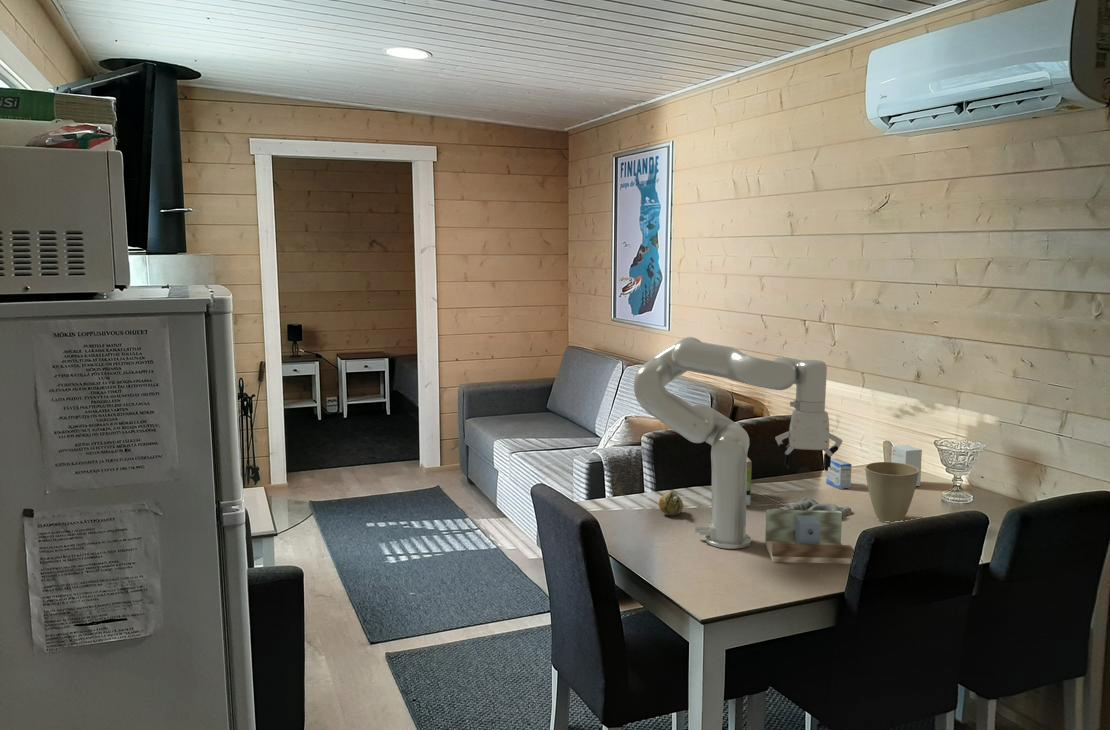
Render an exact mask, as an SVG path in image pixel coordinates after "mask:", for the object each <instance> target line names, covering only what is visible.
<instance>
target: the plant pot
mask: <svg viewBox="0 0 1110 730" xmlns="http://www.w3.org/2000/svg"><path fill="white" fill-rule="evenodd" d="M864 470H865V479H866V484H867V489H868V494H869V499H870V502H871V505H872V508H873V511H874V514H875V516H876V517H875V518H876V519H877V518H878V519H879V521H880V520H882V521H890V522H895V521H901V520H903V521H904V520H905V518H906V516H907V514H908V512H909V509H910V506H911V503H912V500H913V497H914V494H915V490H916V488H917V487H916V483H917V478H918V473H919V470H918V468H916V467H914V466H911V465H908V464H903V463H896V462H891V461H879V462H878V461H876V462H870V463H868V464H865V466H864ZM878 519H877V520H878ZM882 521H881V522H882ZM890 522H889V523H888V522H887V524H891V523H890Z"/></svg>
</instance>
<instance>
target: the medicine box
mask: <svg viewBox="0 0 1110 730" xmlns="http://www.w3.org/2000/svg"><path fill="white" fill-rule="evenodd" d="M852 466H853V465H852V464H851V463H850V462H846V461H844V460H841V459H839V458H831V464H830V467H828V471H826V475H825V476H826V480H825V483H826V484H827V485H829V486H831V487H834V488H836V489H838V488H839V489H838V490H845V489H844V488H848V489H851V486H852V485H851V483H852Z"/></svg>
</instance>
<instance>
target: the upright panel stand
mask: <svg viewBox="0 0 1110 730" xmlns="http://www.w3.org/2000/svg"><path fill="white" fill-rule="evenodd" d="M796 515H805V516H815V517H816V519H817V520H818V522H819V523H820V545H818V544H795V527H796ZM842 520H843V517H842V512H841V511H816V510H772V509H765V539H764V540H765V542H764V543H765V544H764V545H765V547H766V549H767V552H768V554H769V556H770V559H771V561H772V562H773V563H797V564H798V563H803V564H840V565H841V564H842V565H844V564H845V565H851V564H852V553H853V552H852V551H853V547H852V546H851V544H843V543H842ZM850 563H851V564H850Z"/></svg>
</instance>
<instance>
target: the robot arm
mask: <svg viewBox="0 0 1110 730" xmlns="http://www.w3.org/2000/svg"><path fill="white" fill-rule="evenodd" d="M687 372H692V373H697V374H702V375H708V376H714V377H719V378H723V379H728V380H730V381H733V382H736V383H742V384H745V385H748V386H752V387H753V386H754V387H757V388H764V389H768V390H772V391H773V390H774V391H785V390H787V389H790V388H791V387H792V386H793V385H796V390H795V399H794V401H789V407H792V408H794V409H793V410H792V413H791V417H790V423H789V430H788V431H786V432H784V433H781V434H779V435H777V436H775V441H776V443H777V445H778V447H779V449H780V450H781V451H782V452H783V453H784V466H786V468H787V470H791V469H792V451H794V450H795V449H796V450H806V451H807V450H809V451H824V454H823V466H822V467H823V469H824V471H825V472H827V471H828V467H830V464H831V459H832V456H833V455H834V454H835V453H836V452H838V450H839V449H840V447H841V445H842V443H843V440H842V439H841V438H840V437H838V436H836V435H834V434H832V433H830V420H829V419H830V418H829V413H828V412H827V411H826V395H827V393H826V390H827V374H828V367H827V364H826V362H824V361H822V360H818V359H804V360H801V359H795V358H790V357H789V358H788V357H778V358H775V359H774V360H770V359H769V360H768V359H764V358H758V357H755V356H751V355H749V354H745V353H743V352H742V351H740V350H738V349H737V348H734V347H730V346H725V345H718V344H713V343H707V342H703V341H701V340H700V339H698V338H696V337H693V336H687V337H684V338H682V339H681V340H679V341H677V342H676V343H675V344H674V345H672V346H671V347H669V348H667V349H666V350H664V351H663V352H661V353H659V354H658V355H656V356H655V357H653V358H651V359H650V360H648V361H647V362H646V363H644V364H642V365H641V366H640V367H639V368H638V370H637V372H636V373H635V376H634V381H633V392H634V395H635V398H636V400H637V403H638V404H639V405H640V406H641V408H642V409H643V410H644V411H645V412H646V413H648V414H649V415H651V416H652V417H653V418H654V419H656V420H658V421H660V422H661V423H663V424H664V425H666V426H667V428H670V429H671V430H672V431H674V432H676V433H677V434H679V435H680V436H681V437H683V438H685V439H686V440H688V441H689V442H690V443H694V444H701V443H704V442H705V443H706V444H709V445H710V446H711V449H710V463H711V465H710V466H711V511H710V513H711V515H710V516H711V518H710V519H711V521H710V522H709V524H706V525H705V526H702V525H695V526H694V533H695V534H697V533H698V534H699V536H705V541H706V543H707V544H709V545H711V546H713V547H716V548H719V549H720V548H721V549H729V550H732V549H735V550H737V549H744V548H746V547H749V546H750V545H751V544H752V538H751V536H750V535H749V534H747V533H746V532H747V529H746V528H747V505H746V487H747V457H748V451H749V447H750V437H749V434H748V432H747V430H745V428H743V427H742V426H741V425H739V424H738V423H736V422H735V421H733V420H732V419H730V418H729V417H728V416H726V415H724V414H722V413H720V412H719V411H718V410H716V409H714V408H713V407H710V406H708V405H706V404H702V403H701V404H694V405H692V404H689V403H688V402H687V401H685V400H684V399H682V398H681V397H679V396H677V395H676V394H673V393H671V392H670V391H668V389H666V385H668V384H670V383H671V382H672V381H674V380H676V379H677V378H678V377H681V376H682V375H684V374H685V373H687ZM785 439H788V444H787V446H786V445H785V444H784V442H783V441H784V440H785ZM830 440H831V441H833V442H835V443H834V445H832V446H831V447H830ZM829 447H830V448H829Z"/></svg>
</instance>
